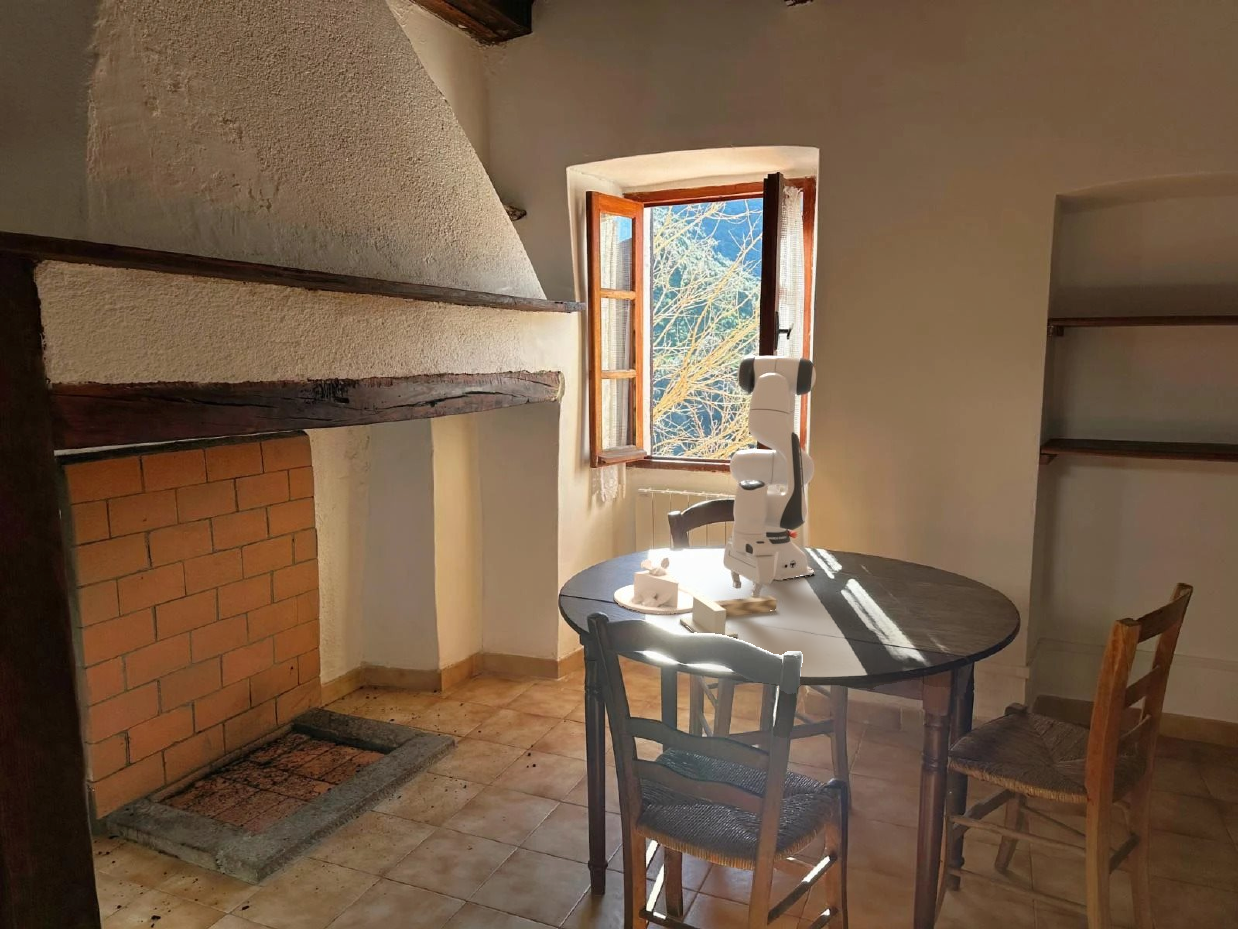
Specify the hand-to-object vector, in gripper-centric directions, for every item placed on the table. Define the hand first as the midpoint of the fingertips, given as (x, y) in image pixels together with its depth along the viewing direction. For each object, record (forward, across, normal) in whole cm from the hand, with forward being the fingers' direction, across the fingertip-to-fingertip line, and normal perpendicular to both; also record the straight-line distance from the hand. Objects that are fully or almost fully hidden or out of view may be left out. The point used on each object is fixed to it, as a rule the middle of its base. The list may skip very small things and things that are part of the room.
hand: (745, 592), depth 220 cm
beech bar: (+6, -1, 0) cm, 6 cm away
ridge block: (+6, +9, -16) cm, 19 cm away
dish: (+6, -17, -18) cm, 25 cm away
